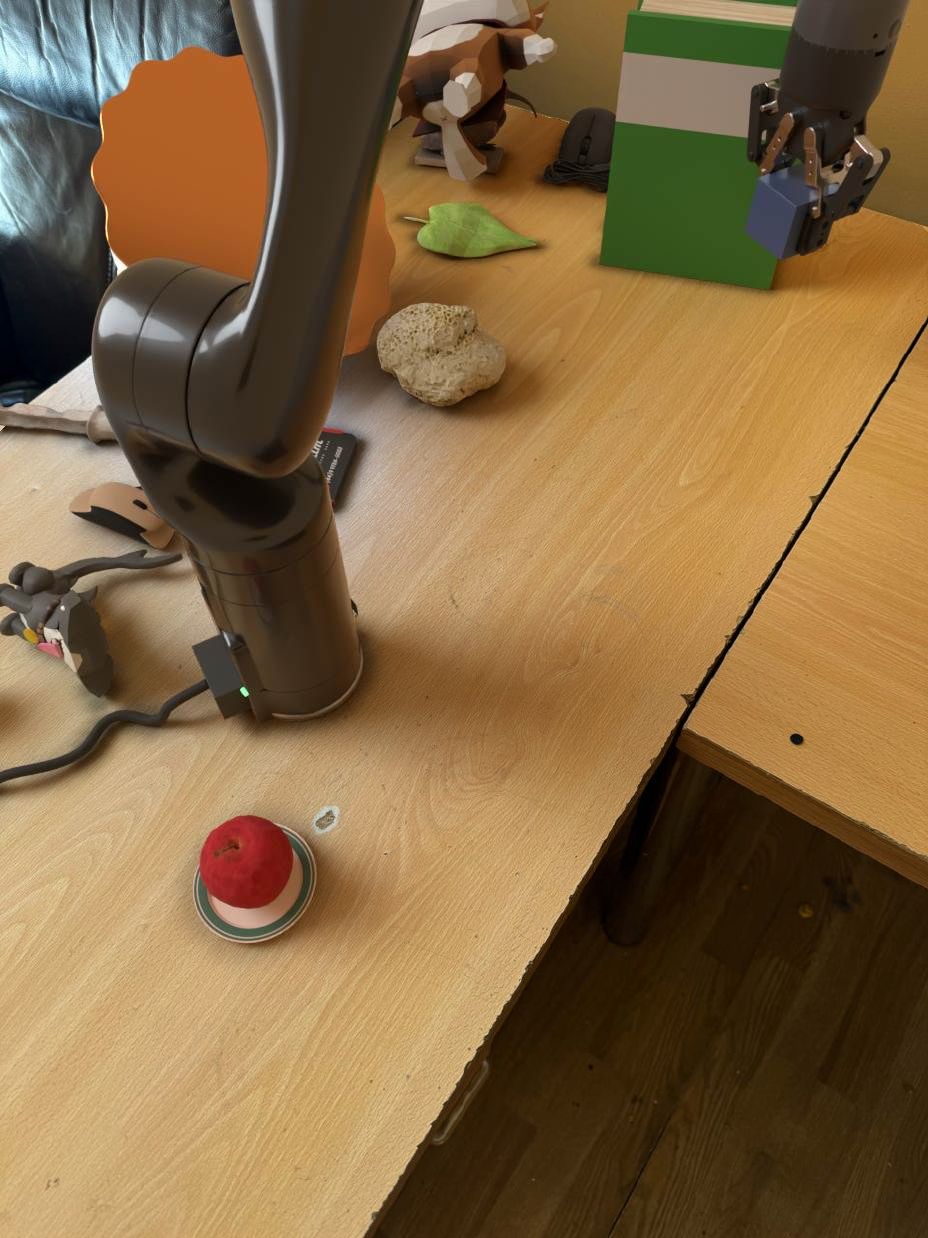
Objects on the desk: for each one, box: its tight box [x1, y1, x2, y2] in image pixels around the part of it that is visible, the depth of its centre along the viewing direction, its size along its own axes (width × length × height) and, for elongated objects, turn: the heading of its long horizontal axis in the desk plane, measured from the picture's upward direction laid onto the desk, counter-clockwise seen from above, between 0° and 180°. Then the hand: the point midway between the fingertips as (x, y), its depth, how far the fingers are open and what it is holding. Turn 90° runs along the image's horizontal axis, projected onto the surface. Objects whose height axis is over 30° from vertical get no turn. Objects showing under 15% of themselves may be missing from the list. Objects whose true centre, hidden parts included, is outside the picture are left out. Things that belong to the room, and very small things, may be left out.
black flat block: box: [311, 427, 358, 509], centre depth 82 cm, size 10×1×5 cm
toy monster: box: [0, 548, 184, 699], centre depth 70 cm, size 14×18×10 cm
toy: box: [388, 0, 558, 183], centre depth 105 cm, size 24×18×30 cm
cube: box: [745, 163, 834, 262], centre depth 80 cm, size 5×5×5 cm
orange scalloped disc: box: [90, 45, 397, 358], centre depth 88 cm, size 28×28×18 cm
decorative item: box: [376, 302, 507, 407], centre depth 86 cm, size 12×9×10 cm
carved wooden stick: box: [0, 400, 118, 445], centre depth 84 cm, size 25×4×3 cm, turn 79°
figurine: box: [414, 87, 538, 174], centre depth 107 cm, size 14×4×9 cm, turn 76°
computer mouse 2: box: [541, 107, 616, 193], centre depth 110 cm, size 10×15×4 cm
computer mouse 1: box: [68, 481, 176, 550], centre depth 78 cm, size 6×10×4 cm, turn 64°
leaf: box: [403, 202, 539, 259], centre depth 101 cm, size 9×16×2 cm, turn 66°
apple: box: [192, 814, 318, 944], centre depth 59 cm, size 8×8×6 cm
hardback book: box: [599, 0, 802, 291], centre depth 90 cm, size 18×7×24 cm, turn 74°
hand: (785, 234), depth 82 cm, fingers closed on cube, 5 cm apart
